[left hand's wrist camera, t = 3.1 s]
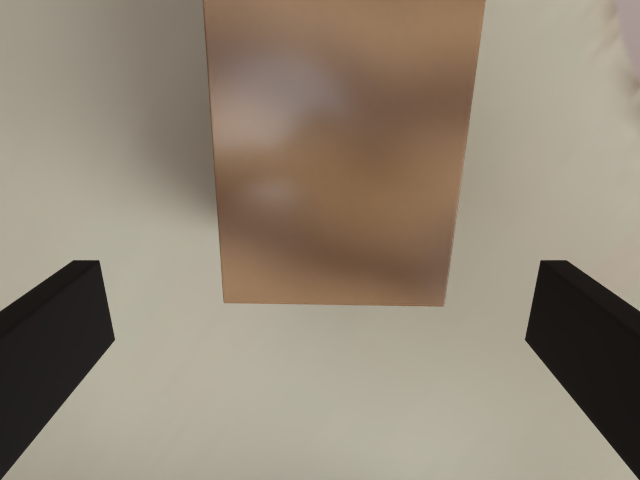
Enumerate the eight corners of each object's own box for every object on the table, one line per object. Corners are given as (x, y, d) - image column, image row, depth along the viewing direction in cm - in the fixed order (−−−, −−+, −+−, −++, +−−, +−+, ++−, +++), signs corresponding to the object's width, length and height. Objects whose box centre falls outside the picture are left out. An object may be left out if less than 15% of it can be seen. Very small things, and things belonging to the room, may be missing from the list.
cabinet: (239, -119, 22) (184, -264, 13) (438, -115, 22) (520, -256, 13) (253, 236, 29) (223, 303, 20) (405, 239, 29) (444, 306, 20)
